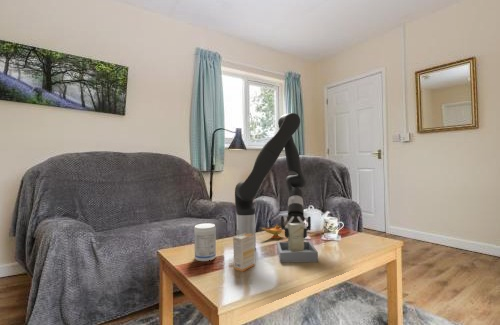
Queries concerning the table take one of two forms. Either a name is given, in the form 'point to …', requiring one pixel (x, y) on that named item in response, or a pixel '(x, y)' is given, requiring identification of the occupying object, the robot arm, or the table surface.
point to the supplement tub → (205, 242)
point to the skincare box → (295, 237)
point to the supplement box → (243, 251)
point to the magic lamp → (274, 231)
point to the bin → (297, 253)
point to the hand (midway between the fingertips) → (295, 237)
